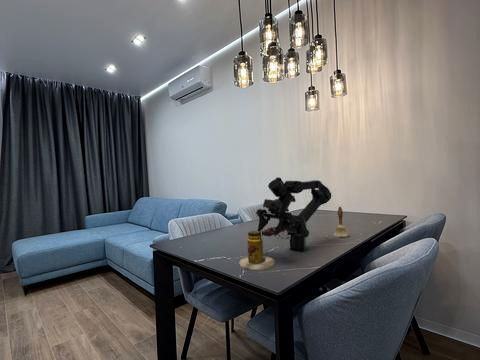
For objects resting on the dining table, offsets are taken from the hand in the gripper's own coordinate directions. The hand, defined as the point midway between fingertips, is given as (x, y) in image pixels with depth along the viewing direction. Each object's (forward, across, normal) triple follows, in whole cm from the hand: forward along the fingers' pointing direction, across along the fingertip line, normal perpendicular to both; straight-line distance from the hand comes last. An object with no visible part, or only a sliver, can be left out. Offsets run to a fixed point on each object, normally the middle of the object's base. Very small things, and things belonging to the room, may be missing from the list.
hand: (266, 233), depth 111 cm
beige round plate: (+12, 0, +4) cm, 13 cm away
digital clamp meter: (-19, -23, +36) cm, 47 cm away
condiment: (+11, 0, +3) cm, 12 cm away
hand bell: (-30, +3, +47) cm, 56 cm away
